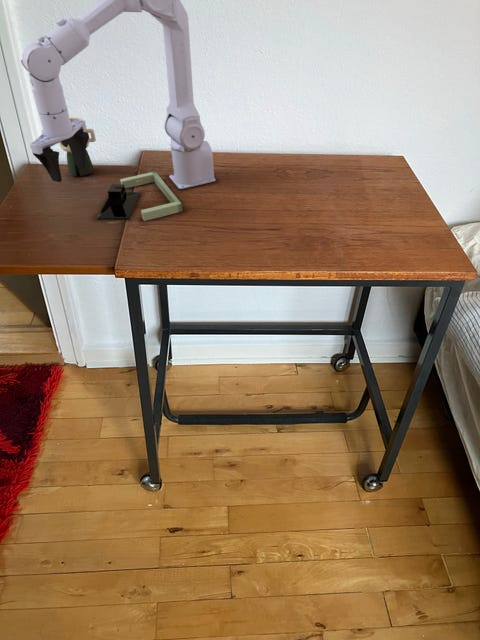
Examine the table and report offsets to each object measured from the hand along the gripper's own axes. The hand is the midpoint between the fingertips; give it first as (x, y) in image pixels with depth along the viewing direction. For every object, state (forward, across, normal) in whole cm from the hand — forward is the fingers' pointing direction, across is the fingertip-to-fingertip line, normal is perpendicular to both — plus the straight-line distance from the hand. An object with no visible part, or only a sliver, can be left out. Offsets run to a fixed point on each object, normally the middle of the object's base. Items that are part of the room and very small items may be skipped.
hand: (69, 173), depth 116 cm
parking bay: (+9, -12, +12) cm, 19 cm away
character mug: (+9, -16, -13) cm, 23 cm away
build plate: (+9, -6, +7) cm, 13 cm away
